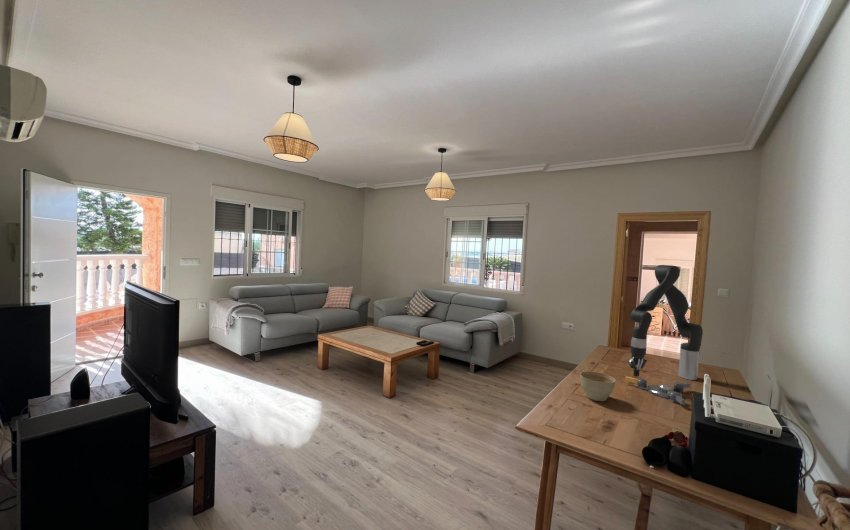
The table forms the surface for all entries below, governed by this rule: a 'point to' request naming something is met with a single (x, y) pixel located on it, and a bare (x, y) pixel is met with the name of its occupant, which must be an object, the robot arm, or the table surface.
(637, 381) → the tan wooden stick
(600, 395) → the planter bowl
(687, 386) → the grey bar with ball
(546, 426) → the table surface
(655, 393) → the base
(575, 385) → the table surface
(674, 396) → the knob
